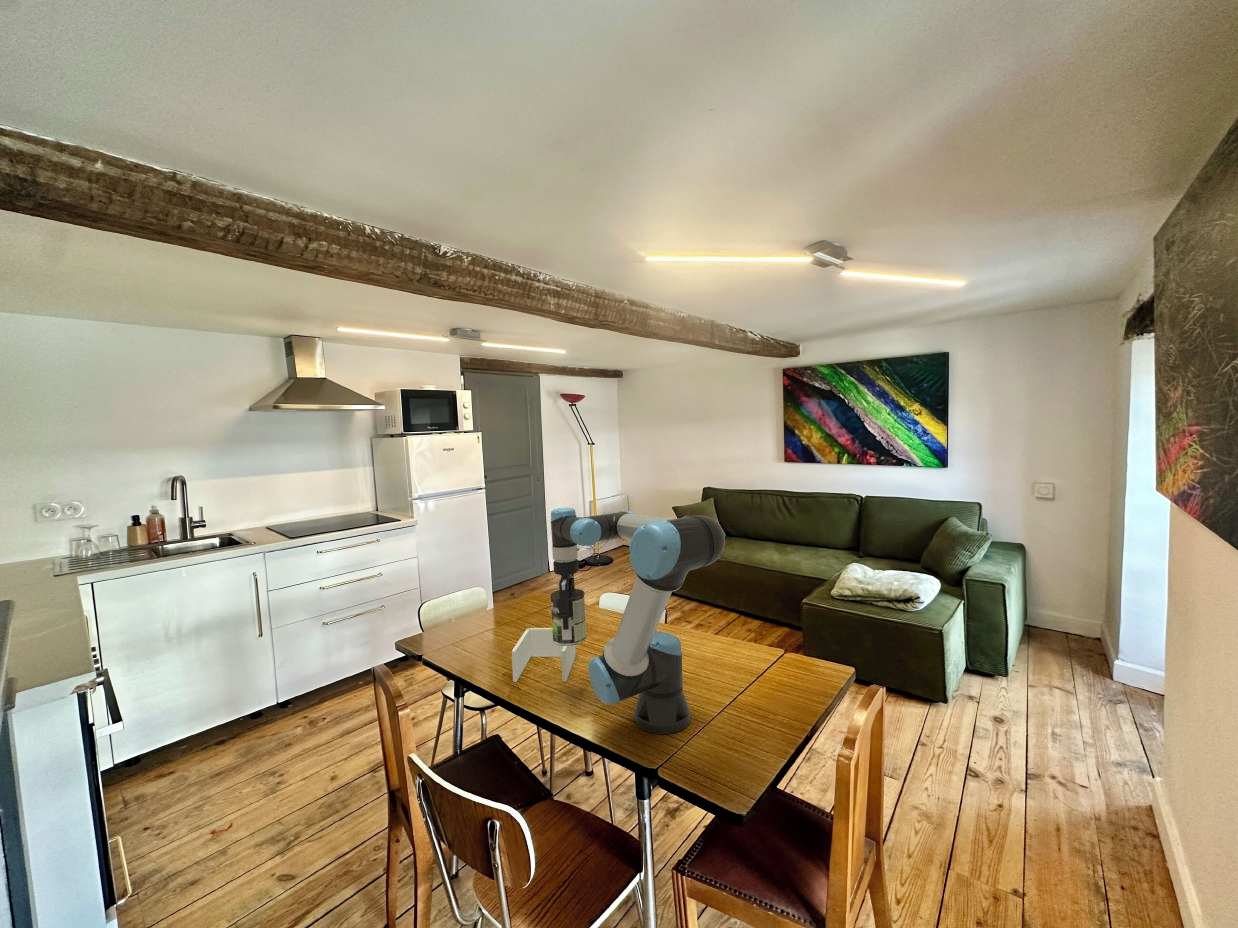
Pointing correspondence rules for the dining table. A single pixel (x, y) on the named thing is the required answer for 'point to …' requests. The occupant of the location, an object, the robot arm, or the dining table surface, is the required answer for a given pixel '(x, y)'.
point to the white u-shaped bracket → (540, 651)
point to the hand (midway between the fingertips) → (569, 632)
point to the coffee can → (576, 618)
